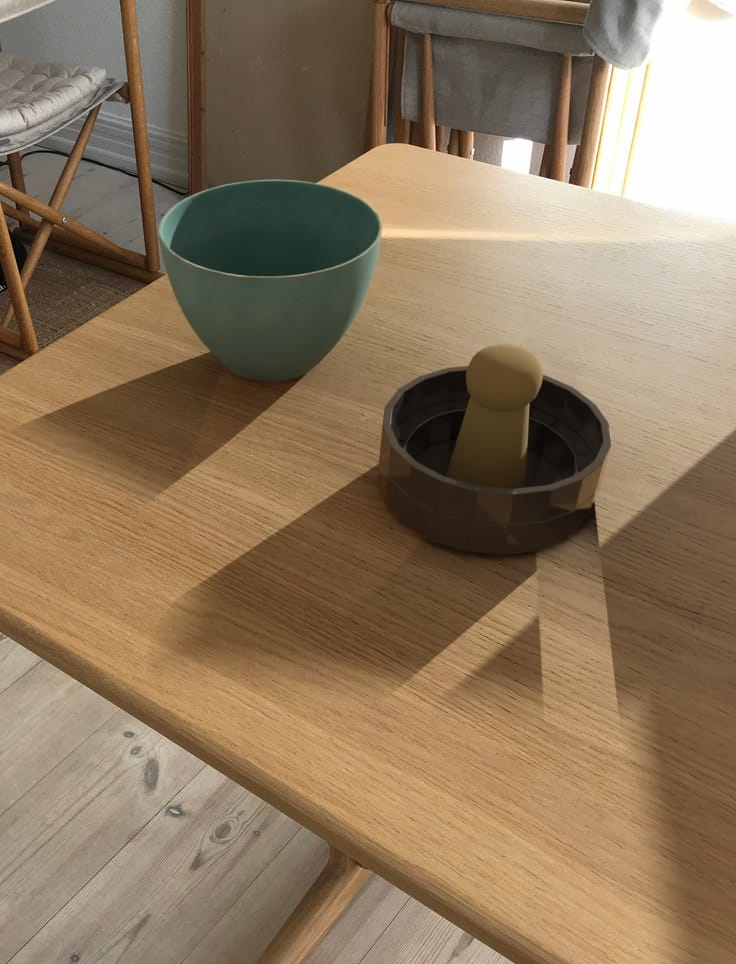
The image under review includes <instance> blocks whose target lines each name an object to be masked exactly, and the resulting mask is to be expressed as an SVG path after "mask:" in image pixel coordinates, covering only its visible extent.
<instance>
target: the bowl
mask: <svg viewBox="0 0 736 964" xmlns="http://www.w3.org/2000/svg"><path fill="white" fill-rule="evenodd" d="M468 366H469V365H463V366H461V365H460V366H451V367H445V368H442V369H439V370H435V371H431V372H430V373H426V374H422V375H419V376H417V377H416V378H414V379H412V380H411V381H409V382H407V383H406V384H404V385H403V386H401V387H399V388H398V389H396V391H395V392H394V394H393V395H392V396H391V398H390V399H389V400H388V402H387V403H386V405H384V409H383V418H382V427H381V437H380V448H379V460H378V473H377V485H376V486H377V488H378V491H379V493H380V496H381V498H382V501H383V503H384V505H385V507H386V508H387V509H388V510H389V511H390V512H391V513H392V515H393V516H394V517H395V518H396V519H397V520H398V521H399V522H400V523H401V524H403V526H405V527H406V528H408V529H410V530H412V531H414V532H415V533H417V534H418V535H420V536H422V537H423V538H425V539H427V540H429V541H431V542H433V543H436V544H440V545H443V546H446V547H449V548H453V549H455V550H459V551H464V552H468V553H469V552H470V553H479V554H490V555H504V556H505V555H513V554H522V553H531V552H538V551H540V550H543V549H546V548H549V547H552V546H554V545H557V544H559V543H562V542H565V541H567V540H568V539H569V538H570V537H572V536H573V535H575V533H576V532H577V531H579V530H580V529H582V528H583V527H584V526H585V525H586V524H587V523H588V521H589V518H591V514H592V512H593V510H594V508H595V506H596V503H595V502H596V499H597V497H598V495H599V492H600V488H601V484H602V481H603V477H604V474H605V470H606V467H607V463H608V459H609V455H610V452H611V450H612V445H613V442H612V435H611V430H610V429H611V428H610V423H609V421H608V420H607V419H606V418H607V417H605V415H604V414H603V412H602V411H601V410H600V408H599V407H598V406H597V404H596V403H595V402H593V401H592V400H591V399H589V398H588V397H587V396H586V395H584V394H582V393H581V392H580V391H579V390H578V389H576V388H574V387H573V386H571V385H569V384H567V383H565V382H562V381H559V380H557V379H555V378H553V377H551V376H549V375H546V374H543V373H542V377H543V379H542V383H541V387H540V389H539V392H538V394H537V395H536V397H535V399H534V400H533V401H531V402H530V403H529V422H528V442H527V462H526V482H525V488H517V489H509V488H497V487H484V486H477V485H473V484H469V483H466V482H462V481H459V480H455V479H451V478H448V477H446V474H447V471H448V468H449V464H450V461H451V458H452V455H453V451H454V448H455V445H456V442H457V439H458V435H459V432H460V429H461V426H462V422H463V419H464V416H465V413H466V410H467V406H468V403H469V400H470V397H471V395H470V394H469V392H468V390H467V383H466V372H467V368H468Z"/></svg>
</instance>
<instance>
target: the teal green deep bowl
mask: <svg viewBox="0 0 736 964" xmlns="http://www.w3.org/2000/svg"><path fill="white" fill-rule="evenodd" d="M382 232H383V222H382V219H381V217H380V215H379V213H378V212H377V211H376V210H375V208H374V207H373V206H372V205H370V204H369V203H368V202H367V201H365V200H364V199H362V198H361V197H359V196H357V195H355V194H353V193H350V192H349V191H346V190H344V189H340V188H337V187H334V186H330V185H326V184H322V183H316V182H310V181H302V180H295V179H293V180H292V179H291V180H290V179H258V180H257V179H256V180H247V181H239V182H232V183H227V184H223V185H219V186H214V187H211V188H207V189H205V190H202V191H199V192H196V193H194V194H192V195H189V196H188V197H186V198H183V199H182V200H181V201H179V202H177V203H176V204H175V205H173V206H172V207H171V208H169V209H168V210H167V212H165V214H164V215H163V216H162V218H161V220H160V222H159V225H158V235H159V236H158V239H159V246H160V249H161V251H160V252H161V255H162V259H163V264H164V267H165V272H166V275H167V278H168V281H169V285H170V286H171V289H172V291H173V294H174V296H175V297H174V298H175V299H176V301H177V304H178V305H179V307H180V309H181V311H182V314H183V315H184V317H185V319H186V321H187V323H188V324H189V326H190V327H191V328H192V330H193V332H194V333H195V335H196V336H197V338H199V340H200V341H201V342H202V344H203V345H204V346H205V347H206V348H207V349H208V350H209V351H210V352H211V353H212V354H213V355H214V356H215V358H216V359H218V361H220V362H221V363H222V364H223V365H224V366H225V367H226V368H227V369H229V370H230V371H231V372H233V373H235V374H236V375H238V376H240V377H243V378H245V379H249V380H252V381H256V382H257V381H258V382H266V383H267V382H269V383H271V382H272V383H273V382H285V381H289V380H293V379H297V378H300V377H301V376H304V375H305V374H307V373H309V372H310V371H311V370H313V369H314V368H315V367H316V366H318V365H319V364H320V363H321V362H322V361H323V360H324V359H325V358H326V357H327V356H328V355H329V354H330V353H331V351H333V350H334V348H335V347H336V346H337V345H338V344H339V342H340V341H341V340H342V338H343V337H344V336H345V335H346V333H347V332H348V330H349V328H350V327H351V325H352V324H353V322H354V321H355V319H356V317H357V315H358V314H359V312H360V309H361V307H362V305H363V303H364V301H365V299H366V296H367V294H368V291H369V288H370V285H371V283H372V280H373V276H374V273H375V270H376V265H377V262H378V258H379V254H380V248H381V241H382Z"/></svg>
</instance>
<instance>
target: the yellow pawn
mask: <svg viewBox="0 0 736 964" xmlns="http://www.w3.org/2000/svg"><path fill="white" fill-rule="evenodd" d="M467 366H468V368H467V372H466V383H467V390H468V392H469V394H470V395H471V397H470V400H469V403H468V406H467V410H466V413H465V416H464V419H463V422H462V426H461V429H460V432H459V435H458V439H457V442H456V445H455V448H454V451H453V455H452V458H451V461H450V464H449V468H448V471H447V474H446V477H448V478H451V479H455V480H459V481H462V482H466V483H469V484H473V485H477V486H484V487H497V488H509V489H517V488H525V482H526V462H527V442H528V422H529V403H530V402H531V401H533V400H534V399H535V397H536V395H537V394H538V392H539V389H540V387H541V383H542V379H543V377H542V374H543V369H542V364H541V362H540V360H539V358H538V357H537V356H536V355H535V353H533V352H531V351H530V350H528V349H526V348H524V347H521V346H518V345H513V344H504V343H503V344H502V343H501V344H500V343H499V344H492V345H489V346H488V345H487V346H486V347H483V348H481V349H480V350H478V351H477V352H476V353H475V354H474V355H473V357H472V358H471V360H470V362H469V363H468V365H467Z"/></svg>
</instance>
